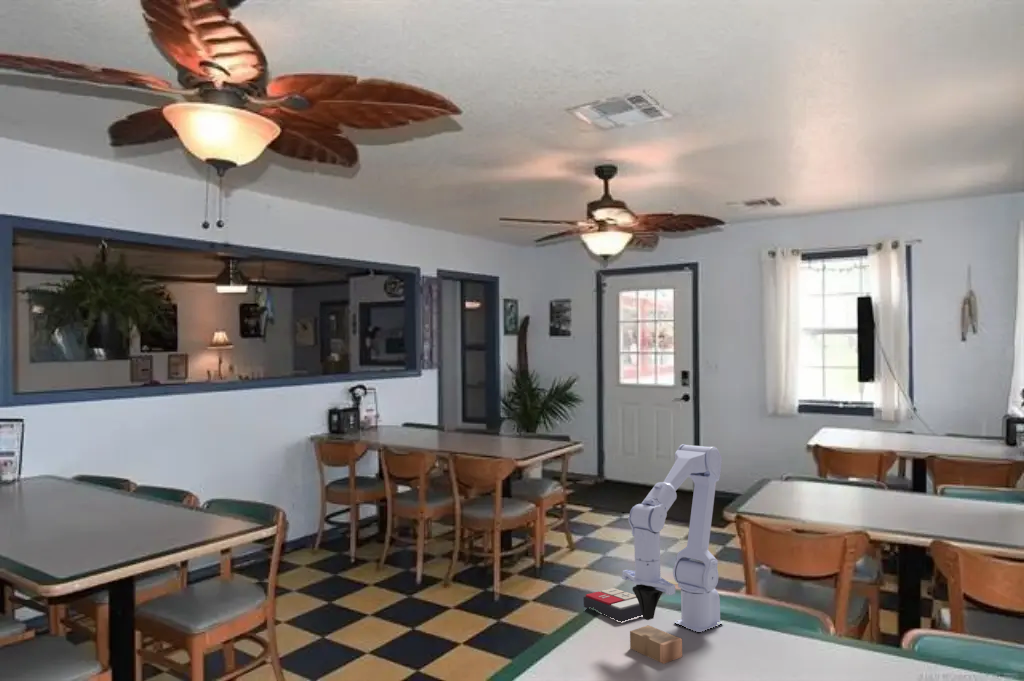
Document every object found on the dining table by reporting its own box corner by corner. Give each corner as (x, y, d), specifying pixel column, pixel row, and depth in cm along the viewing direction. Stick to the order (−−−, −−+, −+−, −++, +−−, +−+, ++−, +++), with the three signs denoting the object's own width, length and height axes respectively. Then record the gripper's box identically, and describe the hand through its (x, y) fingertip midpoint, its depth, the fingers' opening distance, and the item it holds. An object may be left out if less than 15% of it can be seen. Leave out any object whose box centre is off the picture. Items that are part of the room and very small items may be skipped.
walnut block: (648, 625, 161) (681, 638, 153) (648, 642, 161) (682, 657, 153) (629, 631, 158) (663, 645, 150) (630, 649, 157) (663, 664, 149)
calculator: (613, 586, 191) (652, 598, 179) (614, 602, 191) (653, 615, 179) (582, 593, 185) (620, 606, 173) (583, 610, 185) (620, 624, 173)
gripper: (612, 554, 161) (613, 613, 161) (659, 568, 149) (660, 632, 149) (633, 549, 165) (634, 606, 165) (681, 562, 153) (682, 624, 153)
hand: (648, 618), depth 157 cm, fingers closed
